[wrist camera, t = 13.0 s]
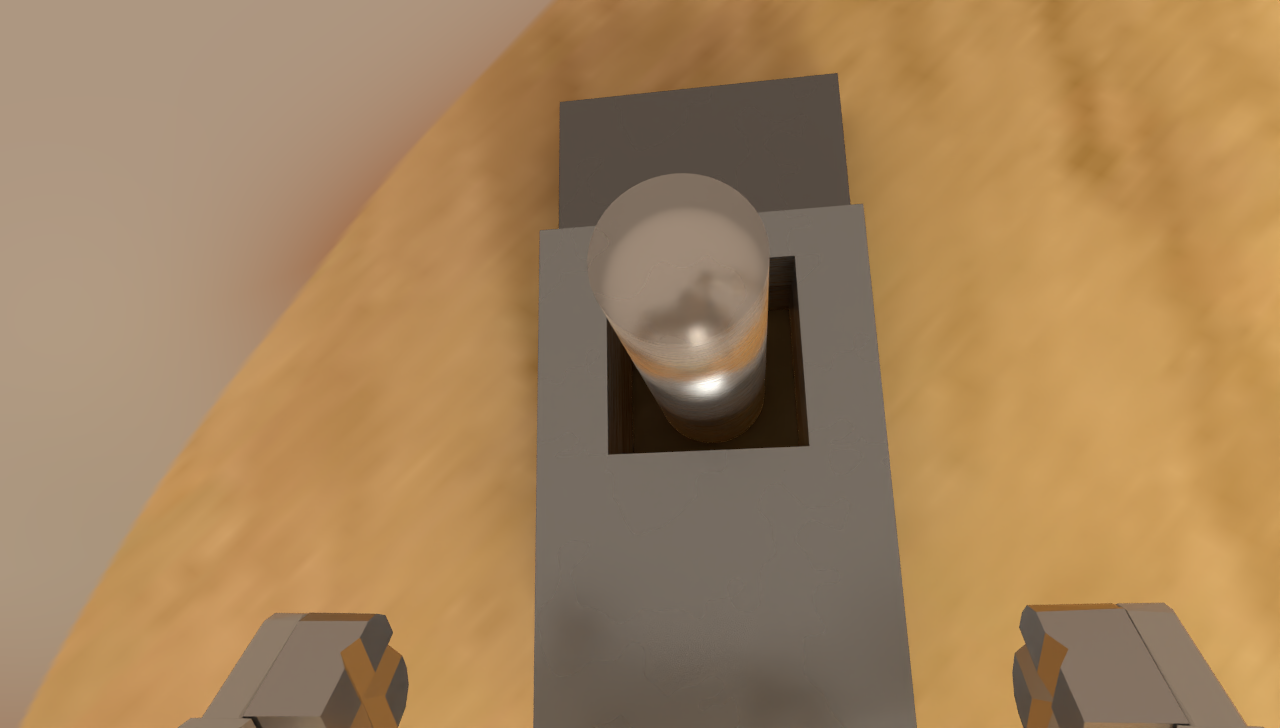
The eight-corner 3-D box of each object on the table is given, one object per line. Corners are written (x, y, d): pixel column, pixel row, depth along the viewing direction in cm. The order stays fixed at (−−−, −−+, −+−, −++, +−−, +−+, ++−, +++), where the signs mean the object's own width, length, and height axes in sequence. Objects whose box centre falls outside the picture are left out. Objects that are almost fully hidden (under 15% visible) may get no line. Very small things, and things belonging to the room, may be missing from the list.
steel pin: (761, 337, 23) (764, 165, 13) (768, 440, 22) (774, 338, 12) (658, 343, 23) (586, 181, 14) (660, 445, 22) (587, 349, 13)
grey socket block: (831, 112, 24) (844, 26, 20) (887, 714, 20) (919, 748, 16) (575, 137, 25) (542, 60, 21) (574, 713, 21) (532, 745, 17)
